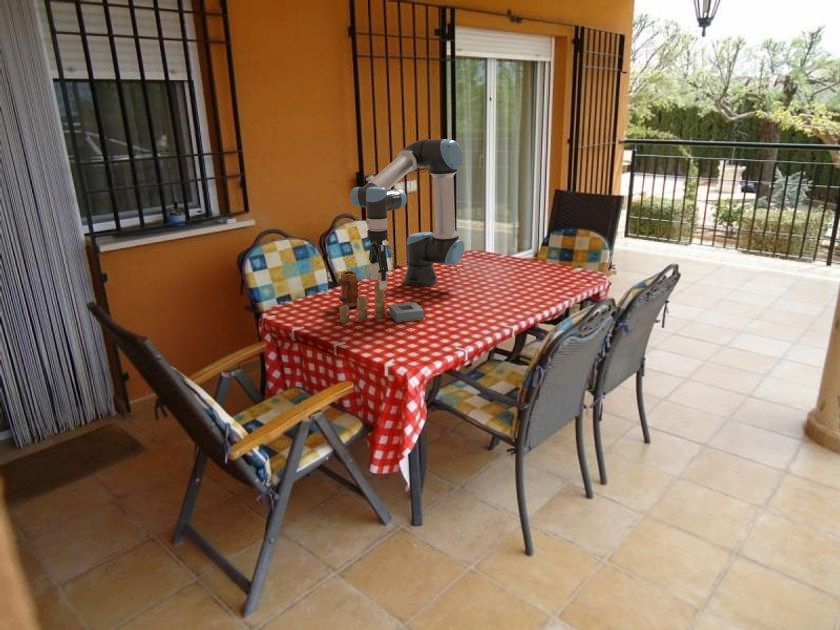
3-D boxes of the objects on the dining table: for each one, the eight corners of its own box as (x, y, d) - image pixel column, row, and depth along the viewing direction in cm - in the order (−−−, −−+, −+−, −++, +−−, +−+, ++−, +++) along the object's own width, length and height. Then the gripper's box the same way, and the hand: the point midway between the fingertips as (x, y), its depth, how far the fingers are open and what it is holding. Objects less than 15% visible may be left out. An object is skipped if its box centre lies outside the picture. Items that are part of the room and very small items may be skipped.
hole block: (415, 310, 252) (415, 302, 251) (423, 319, 242) (423, 310, 241) (389, 313, 249) (388, 304, 248) (396, 322, 239) (396, 313, 238)
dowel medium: (366, 317, 245) (365, 295, 242) (368, 320, 241) (367, 298, 238) (357, 318, 244) (356, 296, 241) (359, 321, 240) (358, 299, 237)
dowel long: (383, 315, 247) (382, 281, 242) (385, 318, 243) (384, 283, 239) (374, 316, 246) (373, 282, 241) (377, 319, 242) (375, 284, 238)
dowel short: (348, 319, 243) (347, 304, 241) (350, 322, 239) (349, 307, 237) (339, 320, 242) (338, 305, 240) (341, 323, 238) (340, 308, 236)
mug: (337, 303, 262) (335, 268, 257) (356, 301, 265) (355, 267, 260) (346, 314, 249) (344, 277, 244) (366, 311, 252) (364, 275, 247)
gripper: (360, 224, 243) (361, 277, 250) (375, 236, 221) (377, 293, 227) (378, 223, 245) (380, 275, 252) (396, 234, 223) (396, 291, 230)
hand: (378, 284), depth 240 cm, fingers open, 13 cm apart
